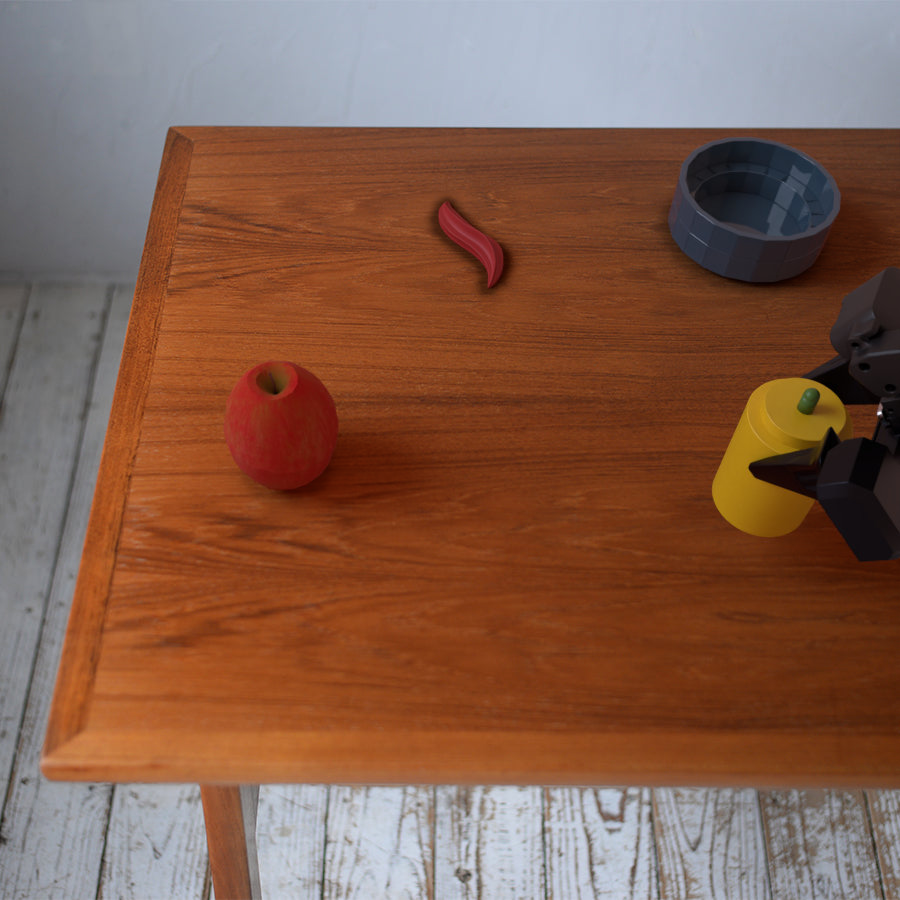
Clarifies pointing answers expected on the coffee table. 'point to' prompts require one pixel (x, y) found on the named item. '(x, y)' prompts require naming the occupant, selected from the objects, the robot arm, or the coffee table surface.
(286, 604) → the coffee table surface
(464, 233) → the cayenne pepper
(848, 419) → the pepper
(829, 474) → the robot arm
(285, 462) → the apple
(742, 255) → the bowl
